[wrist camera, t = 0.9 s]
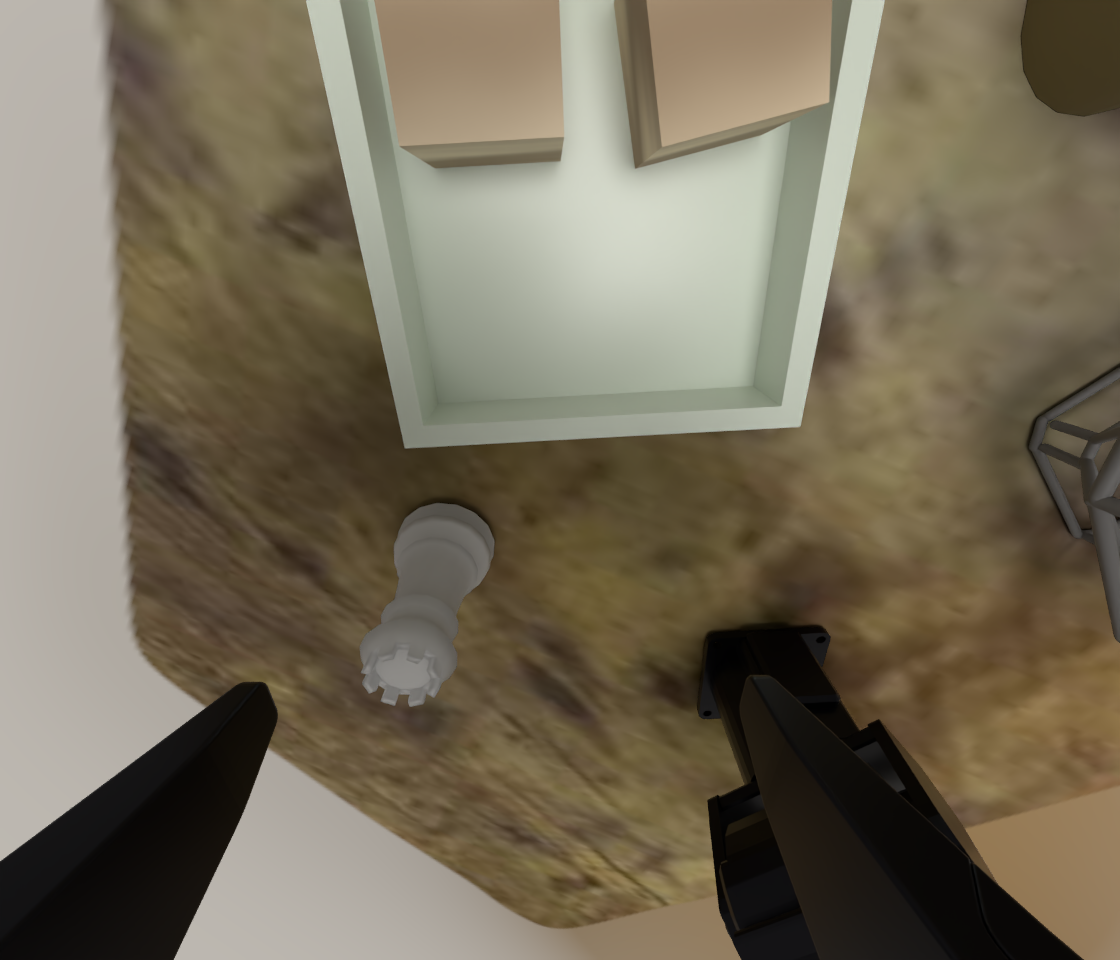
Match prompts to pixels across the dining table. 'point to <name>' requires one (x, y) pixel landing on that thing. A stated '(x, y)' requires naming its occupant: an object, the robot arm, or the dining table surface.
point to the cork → (1073, 54)
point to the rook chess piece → (426, 602)
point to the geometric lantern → (1089, 488)
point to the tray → (595, 253)
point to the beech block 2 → (719, 70)
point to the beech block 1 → (475, 79)
